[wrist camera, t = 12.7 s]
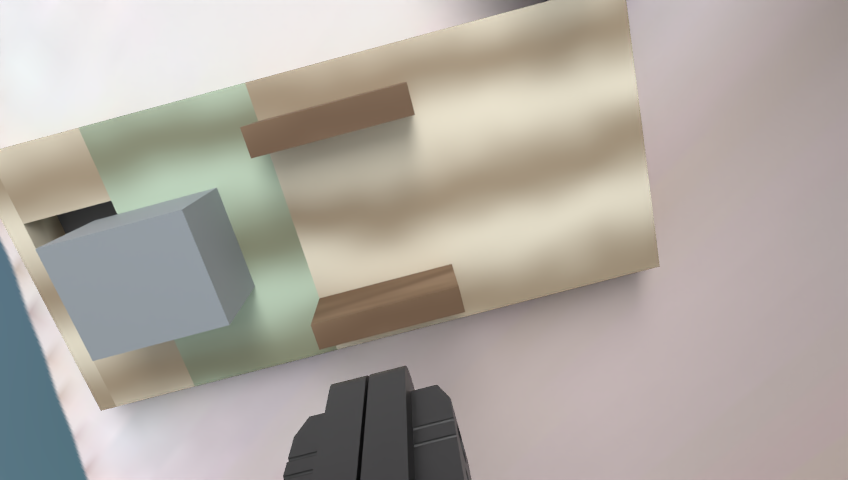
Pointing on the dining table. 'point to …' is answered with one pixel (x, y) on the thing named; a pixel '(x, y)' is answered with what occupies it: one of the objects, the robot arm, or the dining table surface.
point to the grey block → (150, 274)
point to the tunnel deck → (369, 188)
